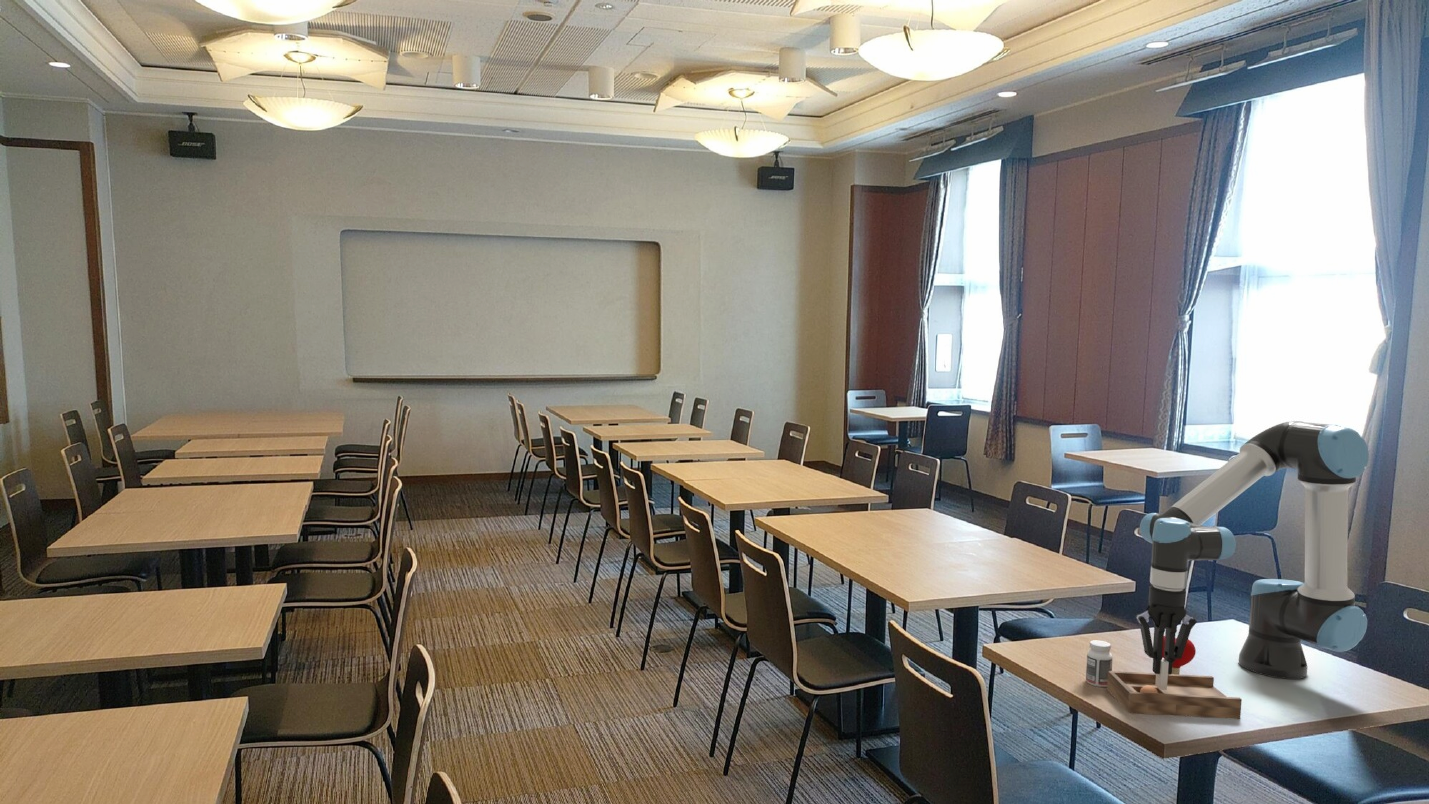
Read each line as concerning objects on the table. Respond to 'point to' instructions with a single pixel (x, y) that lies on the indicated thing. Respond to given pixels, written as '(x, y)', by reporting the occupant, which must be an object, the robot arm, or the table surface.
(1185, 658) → the red heart-shaped lump
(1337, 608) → the robot arm
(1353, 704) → the table surface
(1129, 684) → the lane
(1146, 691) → the ball
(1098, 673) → the pill bottle
